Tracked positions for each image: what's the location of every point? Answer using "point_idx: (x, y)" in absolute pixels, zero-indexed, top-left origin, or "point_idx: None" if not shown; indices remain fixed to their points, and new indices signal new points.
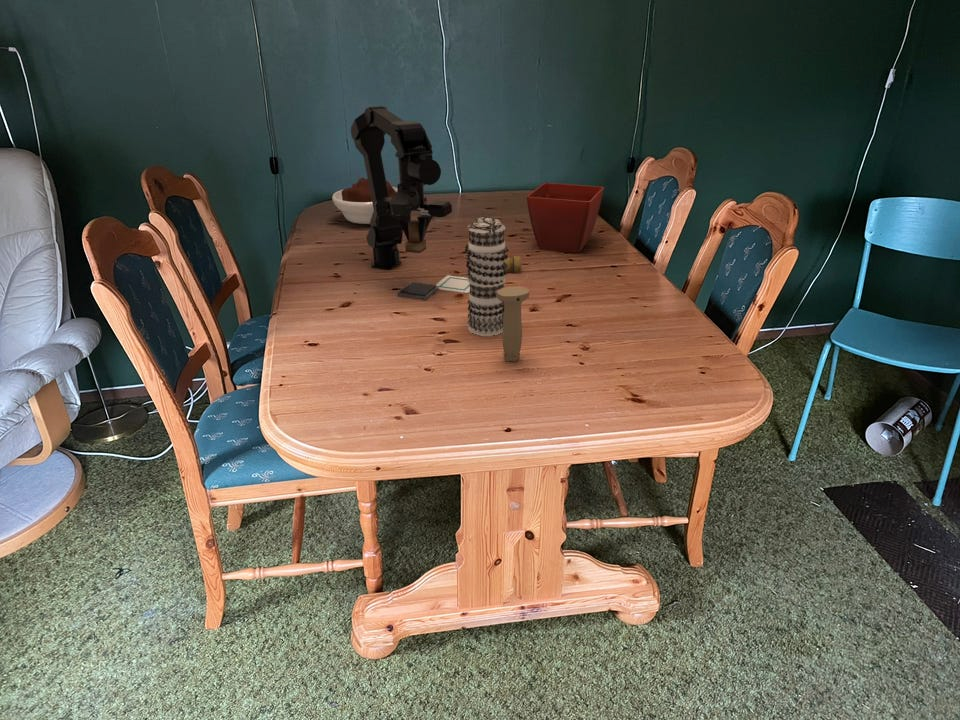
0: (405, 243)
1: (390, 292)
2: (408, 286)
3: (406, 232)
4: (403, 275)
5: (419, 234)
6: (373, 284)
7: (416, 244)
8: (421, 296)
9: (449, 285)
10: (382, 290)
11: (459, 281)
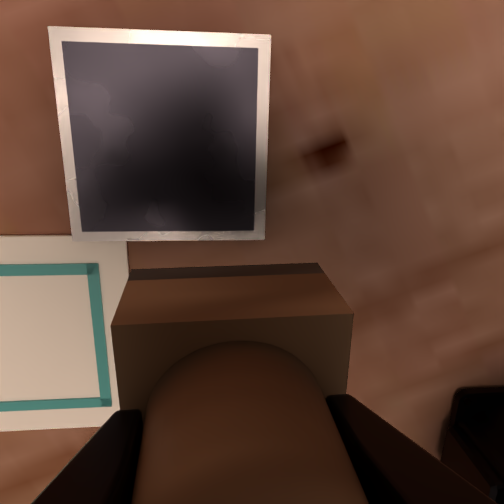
0: (341, 307)
1: (338, 92)
2: (241, 151)
3: (399, 472)
4: (366, 350)
5: (113, 488)
6: (480, 177)
7: (162, 319)
8: (82, 27)
9: (49, 303)
10: (397, 106)
11: (28, 373)
